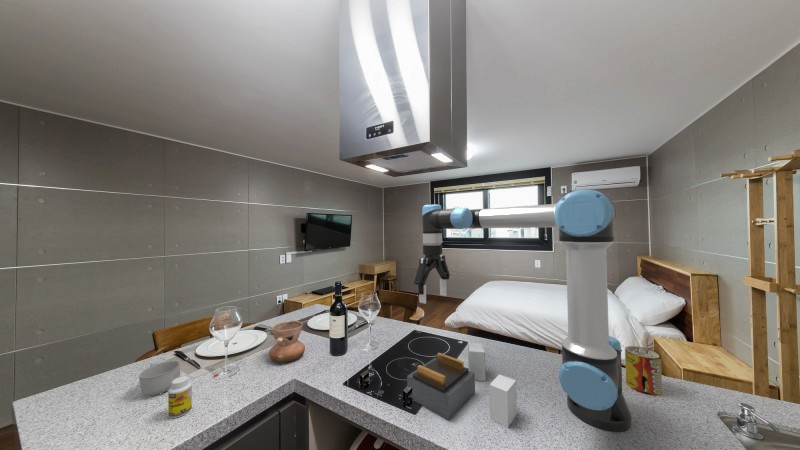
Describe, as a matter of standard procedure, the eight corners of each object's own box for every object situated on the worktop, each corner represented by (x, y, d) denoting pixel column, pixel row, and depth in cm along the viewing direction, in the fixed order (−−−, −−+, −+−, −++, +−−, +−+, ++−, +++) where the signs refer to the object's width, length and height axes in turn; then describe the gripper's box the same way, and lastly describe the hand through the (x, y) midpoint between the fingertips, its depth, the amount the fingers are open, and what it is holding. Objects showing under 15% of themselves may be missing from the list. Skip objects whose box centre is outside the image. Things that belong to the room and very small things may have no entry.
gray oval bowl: (182, 389, 93) (182, 366, 93) (139, 404, 85) (139, 380, 85) (176, 374, 102) (176, 354, 102) (137, 387, 94) (137, 365, 94)
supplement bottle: (163, 420, 77) (163, 386, 78) (175, 408, 83) (175, 375, 83) (185, 417, 79) (185, 383, 79) (195, 405, 84) (195, 373, 84)
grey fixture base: (475, 394, 87) (474, 362, 87) (449, 420, 75) (448, 384, 75) (435, 376, 98) (435, 348, 98) (407, 397, 86) (406, 365, 86)
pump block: (516, 414, 77) (515, 380, 77) (507, 428, 72) (506, 391, 72) (500, 406, 81) (499, 374, 81) (490, 419, 76) (489, 384, 76)
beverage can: (625, 388, 89) (624, 352, 89) (626, 376, 95) (625, 343, 95) (662, 399, 83) (661, 361, 83) (661, 386, 89) (660, 351, 89)
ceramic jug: (295, 367, 106) (295, 332, 106) (260, 367, 106) (260, 332, 107) (311, 348, 124) (311, 317, 125) (281, 348, 124) (281, 317, 125)
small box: (485, 381, 94) (485, 352, 94) (469, 380, 95) (469, 351, 95) (483, 369, 102) (482, 342, 102) (468, 368, 103) (467, 341, 103)
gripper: (442, 242, 113) (443, 291, 113) (403, 246, 95) (405, 304, 95) (457, 242, 108) (458, 294, 108) (419, 246, 90) (421, 308, 90)
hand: (433, 299), depth 102 cm, fingers open, 13 cm apart
